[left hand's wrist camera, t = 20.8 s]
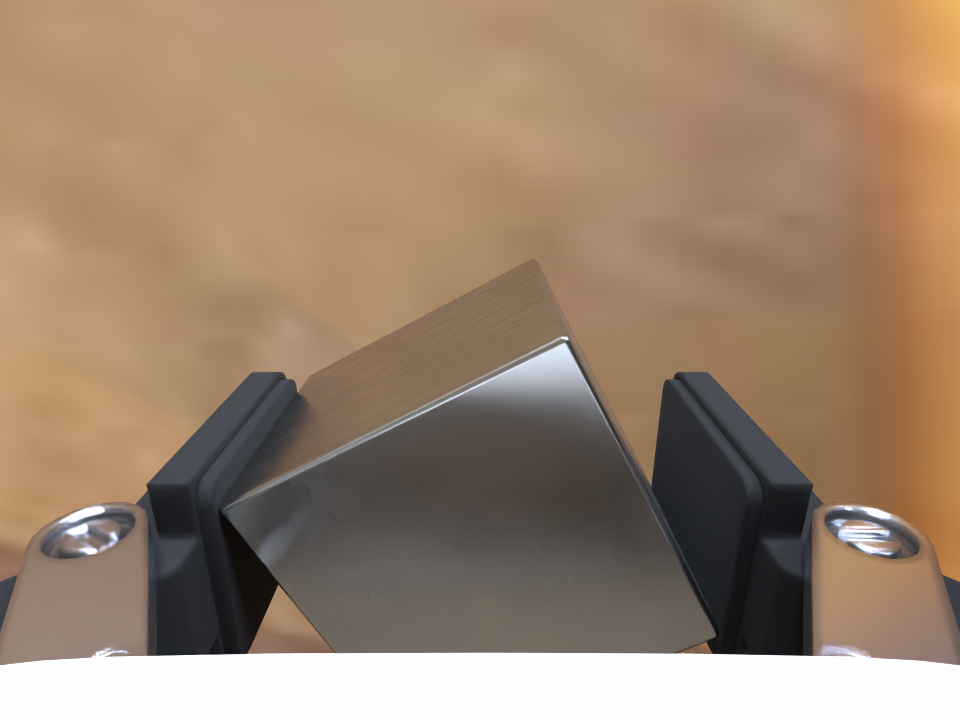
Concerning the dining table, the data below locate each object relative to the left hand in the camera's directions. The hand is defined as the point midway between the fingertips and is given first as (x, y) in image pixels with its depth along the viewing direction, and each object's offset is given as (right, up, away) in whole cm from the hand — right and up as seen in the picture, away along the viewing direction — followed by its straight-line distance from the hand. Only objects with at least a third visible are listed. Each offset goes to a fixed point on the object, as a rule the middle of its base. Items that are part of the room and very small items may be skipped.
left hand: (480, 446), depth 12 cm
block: (0, 0, +1) cm, 1 cm away
